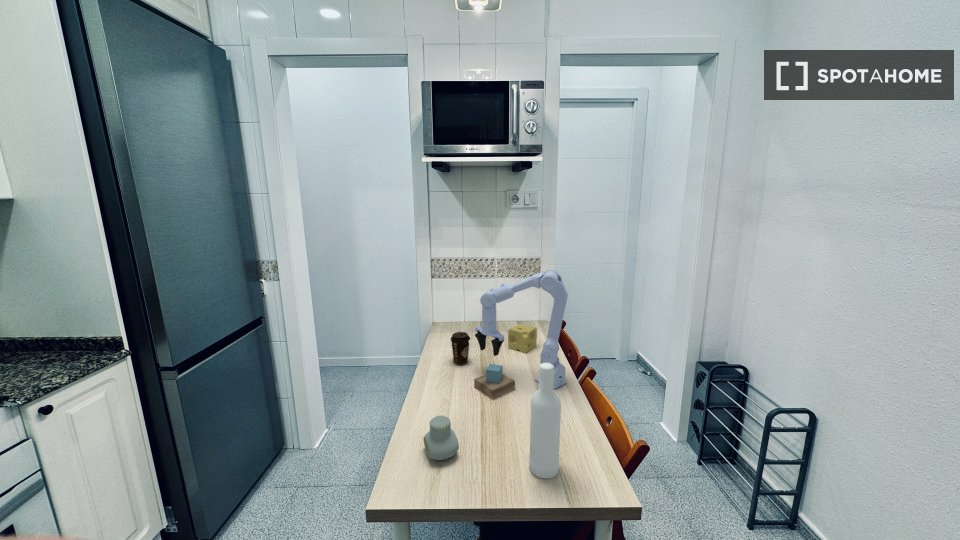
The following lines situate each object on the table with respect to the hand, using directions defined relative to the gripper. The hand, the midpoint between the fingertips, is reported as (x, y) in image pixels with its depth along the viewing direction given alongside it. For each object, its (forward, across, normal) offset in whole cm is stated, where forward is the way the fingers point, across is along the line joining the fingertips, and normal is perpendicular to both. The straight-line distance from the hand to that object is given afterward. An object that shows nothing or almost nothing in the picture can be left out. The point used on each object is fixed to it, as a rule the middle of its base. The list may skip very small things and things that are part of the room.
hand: (489, 352), depth 148 cm
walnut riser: (+10, -10, +7) cm, 15 cm away
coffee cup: (+10, +16, +2) cm, 19 cm away
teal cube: (+6, -10, +7) cm, 13 cm away
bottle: (+10, -48, +27) cm, 56 cm away
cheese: (+10, +7, -30) cm, 32 cm away
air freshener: (+10, -23, +43) cm, 50 cm away
